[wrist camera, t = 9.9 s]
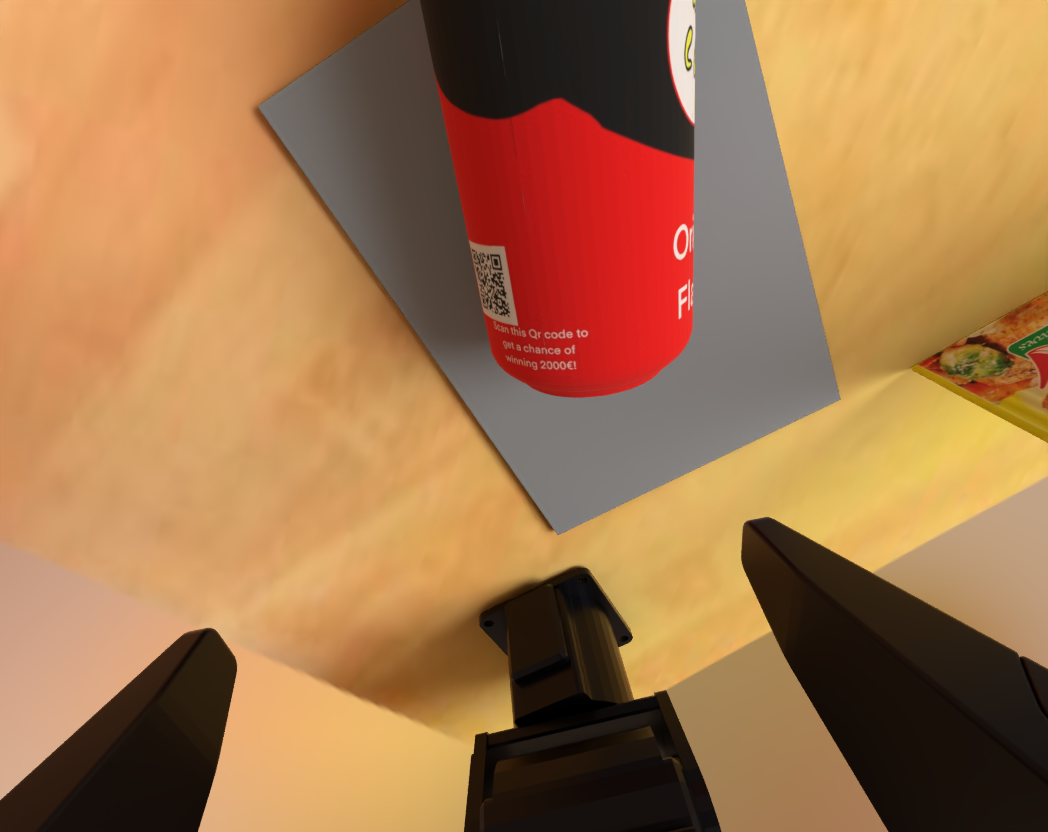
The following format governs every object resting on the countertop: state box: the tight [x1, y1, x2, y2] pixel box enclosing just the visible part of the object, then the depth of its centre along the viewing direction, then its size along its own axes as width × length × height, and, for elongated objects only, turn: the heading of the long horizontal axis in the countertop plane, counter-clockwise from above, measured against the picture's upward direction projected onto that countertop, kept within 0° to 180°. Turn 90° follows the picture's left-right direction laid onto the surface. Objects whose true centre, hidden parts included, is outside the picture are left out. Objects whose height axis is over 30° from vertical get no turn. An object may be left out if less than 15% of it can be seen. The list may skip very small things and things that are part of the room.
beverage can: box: [420, 0, 696, 398], centre depth 14 cm, size 6×6×12 cm
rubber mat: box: [258, 0, 841, 535], centre depth 19 cm, size 20×14×1 cm
